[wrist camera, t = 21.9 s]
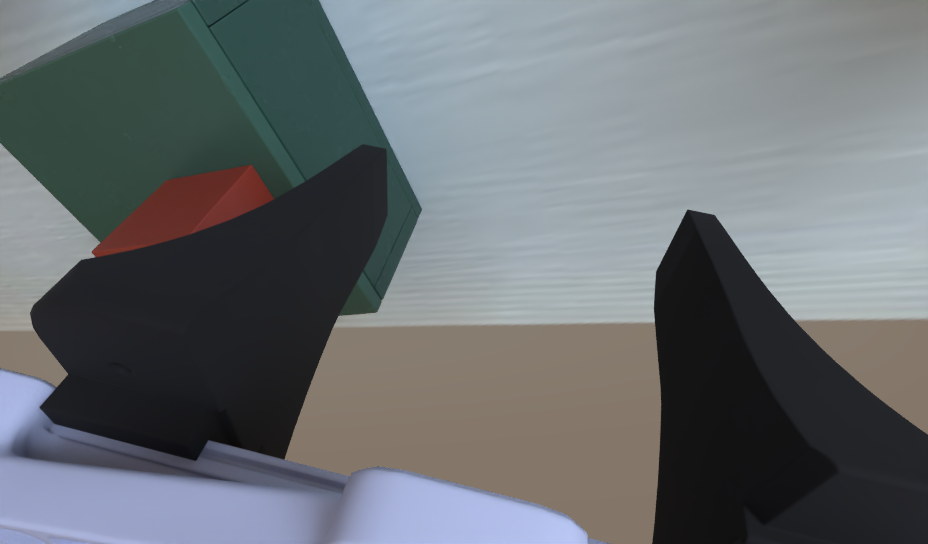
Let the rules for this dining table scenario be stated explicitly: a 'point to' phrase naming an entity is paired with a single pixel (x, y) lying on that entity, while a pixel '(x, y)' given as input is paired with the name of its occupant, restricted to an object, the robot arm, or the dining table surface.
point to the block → (188, 208)
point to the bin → (295, 96)
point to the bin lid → (142, 123)
